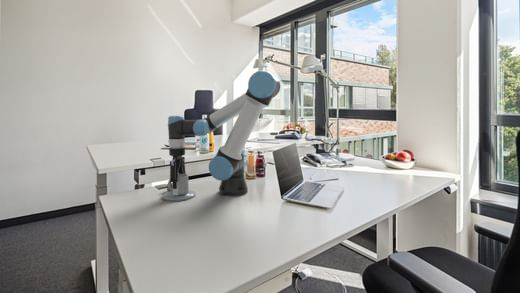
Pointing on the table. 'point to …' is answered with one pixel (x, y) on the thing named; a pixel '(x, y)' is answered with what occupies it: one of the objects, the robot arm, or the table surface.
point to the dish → (178, 196)
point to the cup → (181, 184)
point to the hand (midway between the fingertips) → (178, 192)
